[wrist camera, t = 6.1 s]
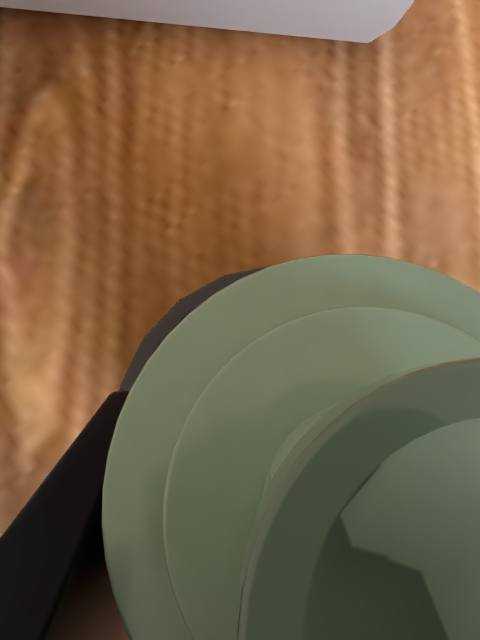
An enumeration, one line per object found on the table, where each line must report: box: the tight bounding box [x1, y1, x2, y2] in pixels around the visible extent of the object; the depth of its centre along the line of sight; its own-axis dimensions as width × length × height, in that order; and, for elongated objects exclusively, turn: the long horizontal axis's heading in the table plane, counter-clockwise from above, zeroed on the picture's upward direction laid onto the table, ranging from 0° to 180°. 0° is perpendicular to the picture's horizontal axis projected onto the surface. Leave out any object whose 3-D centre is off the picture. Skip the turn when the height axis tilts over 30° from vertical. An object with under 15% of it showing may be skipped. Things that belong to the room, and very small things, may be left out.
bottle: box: [101, 254, 480, 640], centre depth 8 cm, size 6×6×12 cm
